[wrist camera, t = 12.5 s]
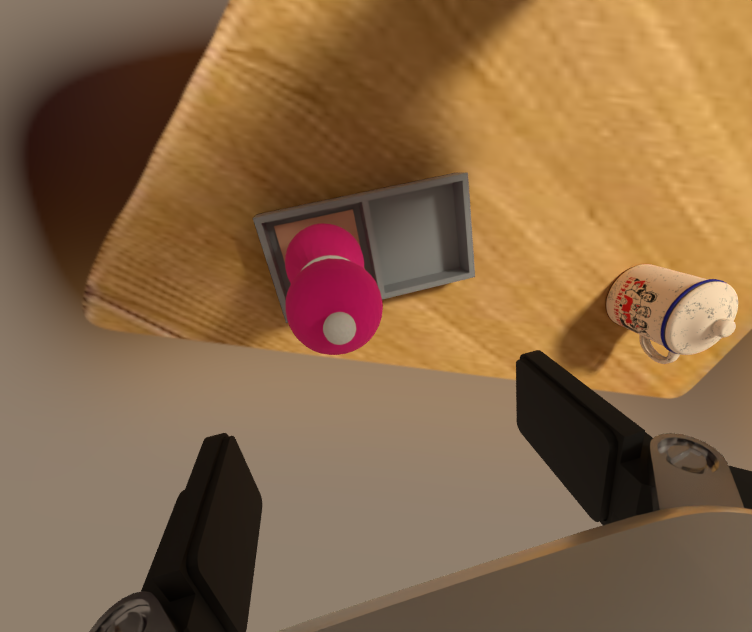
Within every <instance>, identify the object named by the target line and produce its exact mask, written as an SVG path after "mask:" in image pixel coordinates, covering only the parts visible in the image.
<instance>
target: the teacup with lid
mask: <svg viewBox="0 0 752 632" xmlns="http://www.w3.org/2000/svg"><path fill="white" fill-rule="evenodd" d="M606 308H607V313H608V315H609V317H610V318H611V320H612V321H614V322H615V323H617V324H619V325H621V326H623V327H625V328H627V329H629V330H631V331H633V332H635V333H638V334H640V344H641V347H642V349H643V350H644V352H645V353H646V354H647V355H648V356H649V357H650V358H651V359H653V360H654V361H656V362H658V363H662V364H667V363H671V362H674V361H675V360H676V359H677V358H678V357H679V355H680V354H682V355H691V354H696V353H699V352H702V351H704V350H706V349H708V348H709V347H711V346H712V345H714V344H715V343H716V342H718V341H719V340H720V339H721V338H722V337H727V336H729V335H731V334H732V333H733V332H734V330H735V327H736V325H735V323H734V319H735V316H736V313H737V309H738V297H737V294H736V292H735V290H734V289H733V288H732V287H731V286H730V285H728V284H727V283H725V282H724V281H721V280H717V279H709V280H708V279H704V278H700V277H697V276H693V275H689V274H685V273H681V272H677V271H674V270H670V269H666V268H662V267H658V266H654V265H650V264H643V265H638V266H635V267H632V268H631V269H629V270H627V271H626V272H624V273H623V274H622V275H621V276H620V277H619V278H618V279H617V280H616V281H615V282H614V284H613V285H612V287H611V289H610V291H609V294H608V297H607V302H606ZM650 340H652V341H654V342H656V343H658V344H661V345H663V346H664V347H665V348H666V349H667V350H669V353H668V356H667V357H664V356H662V355H661V354H659V353H658V352H657V351H656V350H655V349H654V348H653V346H652V345H651V342H650Z"/></svg>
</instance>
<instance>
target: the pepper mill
mask: <svg viewBox="0 0 752 632" xmlns="http://www.w3.org/2000/svg"><path fill="white" fill-rule="evenodd" d="M285 268H286V273H287V277H288V279H289V281H290V283H291V285H290V287H289V289H288V292H287V296H286V316H287V321H288V323H289V326H290V328H291V330H292V332H293V333H294V335H295V336H296V337H297V339H298V340H299V341H300V342H302V343H303V344H304V345H305V346H306V347H308V348H310V349H312V350H313V351H316V352H319V353H322V354H329V355H339V354H346V353H349V352H352V351H355V350H356V349H358V348H360V347H362V346H363V345H364V344H366V343H367V342H368V341H369V340H370V339H371V338H372V336H373V335H374V334H375V332H376V330H377V328H378V326H379V324H380V321H381V318H382V309H383V305H382V297H381V293H380V290H379V288H378V286H377V283H376V281H375V280H374V278H373V277H372V276H371V275H370V274H369V273H368V272H367V271H366V270H365V269H364V258H363V254H362V251H361V248H360V246H359V244H358V242H357V240H356V239H355V238H354V237H353V236H352V235H351V234H350V233H349V232H348V231H346V230H345V229H343V228H341V227H339V226H336V225H333V224H324V223H321V224H314V225H311V226H308V227H306V228H304V229H303V230H301V231H300V232H299V233H297V234H296V235H295V237H294V238H293V239H292V240H291V242H290V243H289V246H288V248H287V251H286V255H285Z"/></svg>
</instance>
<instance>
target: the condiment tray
mask: <svg viewBox="0 0 752 632" xmlns="http://www.w3.org/2000/svg"><path fill="white" fill-rule="evenodd" d="M253 220H254V224H255V227H256V230H257V233H258V236H259V239H260V242H261V245H262V249H263V252H264V255H265V258H266V261H267V264H268V267H269V270H270V274H271V277H272V280H273V283H274V286H275V289H276V292H277V295H278V299H279V302H280V305H281V308H282V311H283V314H284V317H285V320H286V323H288V321H287V316H286V296H287V292H288V289H289V287H290V285H291V283H290V281H289V279H288V277H287V273H286V268H285V255H286V251H287V248H288V246H289V243H290V242H291V240H292V239H293V238H294V237H295V235H296V234H297V233H299V232H300V231H301V230H303V229H304V228H306V227H308V226H311V225H314V224H321V223H324V224H333V225H336V226H339V227H341V228H343V229H345V230H346V231H348V232H349V233H350V234H351V235H352V236H353V237H354V238H355V239H356V240H357V242H358V244H359V246H360V248H361V251H362V254H363V258H364V269H365V270H366V271H367V272H368V273H369V274H370V275H371V276H372V277H373V278H374V280H375V281H376V283H377V286H378V288H379V290H380V293H381V297H382V299H386V298H390V297H394V296H399V295H403V294H407V293H411V292H415V291H419V290H423V289H427V288H431V287H435V286H440V285H444V284H448V283H452V282H456V281H460V280H464V279H468V278H472V277H475V269H474V255H473V240H472V226H471V211H470V196H469V182H468V173H452V174H447V175H442V176H438V177H433V178H428V179H423V180H419V181H414V182H409V183H404V184H400V185H395V186H390V187H385V188H381V189H376V190H371V191H366V192H361V193H357V194H352V195H347V196H342V197H338V198H333V199H328V200H323V201H319V202H314V203H309V204H304V205H300V206H295V207H290V208H285V209H281V210H276V211H271V212H266V213H261V214H257V215H256V216H255V217H253Z"/></svg>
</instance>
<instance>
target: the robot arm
mask: <svg viewBox="0 0 752 632" xmlns="http://www.w3.org/2000/svg"><path fill="white" fill-rule="evenodd" d="M516 397H517V398H516V400H517V425H518V428H519V430H520V432H521V433H522V435H523V436H524V437H525V438H526V440H527V441H528V442H529V443H530V444H531V446H532V447H533V448H534V449H535V451H536V452H537V453H538V454H539V455H540V457H541V458H542V459H543V460H544V461H545V463H546V464H547V465H548V466H549V467H550V469H551V470H552V471H553V472H554V474H555V475H556V476H557V477H558V478H559V480H560V481H561V482H562V483H563V485H564V486H565V487H566V488H567V489H568V491H569V492H570V493H571V494H572V495H573V497H574V498H575V499H576V500H577V501H578V503H579V504H580V505H581V506H582V508H583V509H584V510H585V511H586V512H587V514H588V515H589V516H590V517H591V518H592V519H593V520H594V521H596V522H599V521H600V522H601V524H602V525H603V526H600V527H596V528H593V529H590V530H586V531H583V532H580V533H577V534H573V535H571V536H567V537H564V538H561V539H558V540H554V541H551V542H549V543H545V544H542V545H539V546H536V547H532V548H529V549H526V550H523V551H520V552H517V553H514V554H511V555H507V556H504V557H501V558H498V559H495V560H492V561H489V562H486V563H483V564H479V565H476V566H473V567H470V568H467V569H464V570H461V571H458V572H455V573H451V574H449V575H445V576H442V577H439V578H436V579H433V580H430V581H427V582H424V583H421V584H418V585H415V586H411V587H409V588H405V589H402V590H399V591H396V592H393V593H390V594H387V595H384V596H381V597H378V598H375V599H372V600H369V601H366V602H363V603H360V604H357V605H354V606H351V607H348V608H345V609H342V610H339V611H336V612H333V613H330V614H327V615H324V616H320V617H318V618H315V619H311V620H308V621H306V622H302V623H299V624H297V625H294V626H291V627H288V628H285V629H282V630H279V631H277V632H752V471H748V470H744V469H740V468H736V467H732V466H728V463H727V461H726V460H725V458H724V456H723V455H722V454H721V453H720V452H718V451H717V450H716V449H715V448H714V447H712V446H710V445H709V444H707V443H706V442H703V441H701V440H699V439H696V438H694V437H690V436H687V435H683V434H675V433H666V434H660V435H658V436H655V437H654V438H652V437H651V436H650V435H648V434H647V433H646V432H645V430H644V429H642V428H641V427H640V426H638V425H637V424H636V423H635V422H633V421H632V420H630V419H629V418H628V417H626V416H625V415H624V414H623V413H621V412H620V411H619V410H617V409H616V408H615V407H614V406H612V405H611V404H610V403H608V402H607V401H606V400H604V399H603V398H602V397H600V396H599V395H598V394H596V393H595V392H594V391H593V390H591V389H590V388H589V387H587V386H586V385H585V384H583V383H582V382H581V381H580V380H578V379H577V378H576V377H574V376H573V375H572V374H570V373H569V372H568V371H566V370H565V369H564V368H562V367H561V366H560V365H559V364H557V363H556V362H555V361H553V360H552V359H551V358H549V357H548V356H547V355H545V354H544V353H543V352H541V351H540V350H536V351H533V352H529V353H525V354H522V355H521V356H520V360H517V362H516ZM261 513H262V498H261V495H260V492H259V490H258V488H257V486H256V484H255V481H254V479H253V477H252V475H251V472H250V470H249V468H248V466H247V463H246V461H245V459H244V457H243V455H242V452H241V450H240V448H239V446H238V444H237V441H236V439H235V437H234V436H228V435H227V434H226V433H222V434H218V435H214V436H210V437H207V438H205V439H204V441H203V444H202V446H201V449H200V452H199V454H198V457H197V459H196V462H195V465H194V467H193V470H192V473H191V475H190V478H189V481H188V483H187V486H186V489H185V490H183V491H182V492H181V493H180V495H179V497H178V498H177V501H176V504H175V506H174V508H173V511H172V514H171V516H170V519H169V521H168V524H167V527H166V529H165V531H164V534H163V537H162V539H161V542H160V544H159V547H158V549H157V552H156V554H155V557H154V560H153V562H152V565H151V568H150V570H149V573H148V575H147V578H146V580H145V583H144V585H143V588H142V590H141V592H136V593H133V594H131V595H128V596H127V597H124V598H122V599H121V600H120V601H118V602H117V603H115V604H114V605H113V606H112V607H110V608H109V609H108V610H107V611H106V612H105V613H104V614H103V615H102V616H101V617H100V618H99V619H98V621H97V622H96V623H95V625H94V626H93V627H92V629H91V630H90V631H89V632H246V629H247V622H248V614H249V607H250V599H251V590H252V583H253V576H254V568H255V559H256V552H257V544H258V537H259V529H260V521H261Z"/></svg>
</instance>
